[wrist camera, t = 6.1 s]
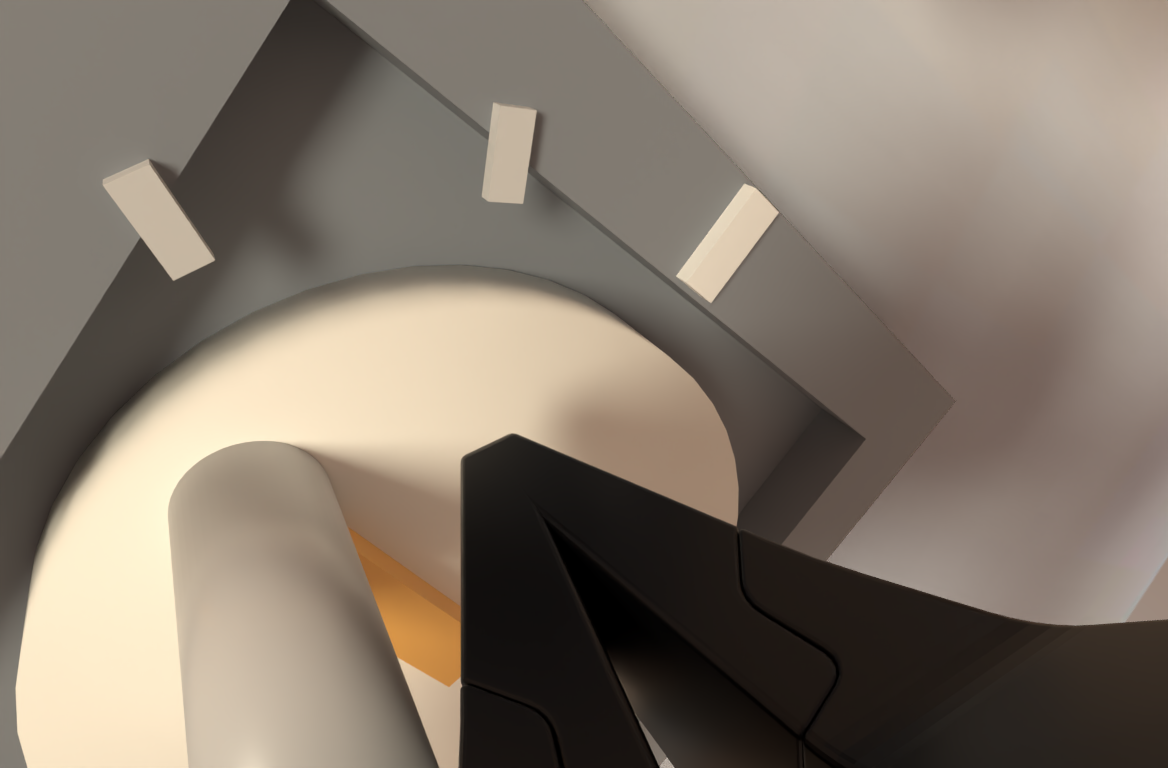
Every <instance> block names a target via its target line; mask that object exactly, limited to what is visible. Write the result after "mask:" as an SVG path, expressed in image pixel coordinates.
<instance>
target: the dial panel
mask: <svg viewBox="0 0 1168 768" xmlns="http://www.w3.org/2000/svg"><path fill="white" fill-rule="evenodd" d="M446 265H466V266H476V267H486V268H495V269H505V270H510V271H514V272H518V273H523V274H527V275H531V276H535V277H539V278H543V279H547V280H550V281H552V282H554V283H557V284H559V285H562V286H564V287H566V288H569V289H571V290H574V291H576V292H578V293H581V294H583V295H585V296H587V297H588V298H590V299H591V300H593V301H595V302H596V303H598V304H599V305H601V306H603V307H604V308H606V309H608V310H609V311H611V312H612V313H614V314H615V315H616V316H618V317H619V318H620V319H622V320H623V321H624V322H625V323H627V324H628V325H629V326H631V327H632V328H633V329H634V330H636V331H637V332H638V333H640V334H641V335H642V336H643V337H645V338H646V339H647V340H649V341H650V342H651V343H652V344H654V345H655V346H656V347H657V348H659V349H660V350H661V351H663V352H664V353H665V354H666V355H668V356H669V357H670V358H671V359H672V360H673V361H675V362H676V363H677V364H678V365H679V366H680V367H681V368H682V369H684V370H685V371H686V372H687V373H688V374H689V375H690V376H691V377H692V378H694V380H695V381H696V382H697V384H698V385H699V386H700V387H701V389H702V390H703V391H704V393H705V394H706V395H707V397H708V398H709V399H710V400H711V402H712V403H713V405H714V407H715V409H716V411H717V413H718V415H719V417H720V419H721V421H722V423H723V425H724V427H725V428H726V430H727V434H728V437H729V440H730V444H731V447H732V451H733V454H734V457H735V463H736V471H737V479H738V487H739V492H738V520H737V526H736V527H737V528H738V532H739V531H740V530H741V529H745V530H747V531H749V532H752V533H754V534H757V535H759V536H761V537H764V538H766V539H768V540H771V541H773V542H776V543H779V544H781V545H784V546H786V547H789V548H791V549H794V550H797V551H799V552H802V553H804V554H807V555H809V556H812V557H815V558H817V559H820V560H823V561H826V560H827V559H828V558H829V557H830V555H831V554H832V553H833V552H834V551H835V549H836V548H837V547H838V546H839V544H840V543H841V542H842V541H843V539H844V538H845V537H846V536H847V535H848V533H849V532H850V531H851V530H852V528H853V527H854V526H855V525H856V523H857V522H858V521H859V520H860V519H861V517H862V516H863V515H864V514H865V512H866V511H867V510H868V509H869V507H870V506H871V505H872V504H873V503H874V501H875V500H876V499H877V498H878V496H879V495H880V494H881V493H882V491H883V490H884V489H885V488H886V487H887V485H888V484H889V483H890V482H891V480H892V479H893V478H894V477H895V475H896V474H897V473H898V472H899V471H900V469H901V468H902V467H903V466H904V464H905V463H906V462H907V461H908V459H909V458H910V457H911V456H912V455H913V453H914V452H915V451H916V450H917V448H918V447H919V446H920V445H921V443H922V442H923V441H924V440H925V439H926V437H927V436H928V435H929V434H930V432H931V431H932V430H933V429H934V427H935V426H936V425H937V424H938V423H939V421H940V420H941V419H942V418H943V416H944V415H945V414H946V413H947V411H948V410H949V409H950V408H951V407H952V405H953V404H954V403H955V402H956V401H955V400H954V399H953V398H952V397H951V396H950V395H949V394H948V393H947V391H946V390H945V389H944V388H943V387H942V386H941V385H940V384H939V383H938V382H937V381H936V380H935V379H934V377H933V376H932V375H931V374H930V373H929V372H928V371H927V370H926V369H925V368H924V367H923V366H922V365H921V363H920V362H919V361H918V360H917V359H916V358H915V357H914V356H913V355H912V354H911V353H910V352H909V351H908V350H907V348H906V347H905V346H904V345H903V344H902V343H901V342H900V341H899V340H898V339H897V338H896V337H895V336H894V334H893V333H892V332H891V331H890V330H889V329H888V328H887V327H886V326H885V325H884V324H883V323H882V322H881V320H880V319H879V318H878V317H877V316H876V315H875V314H874V313H873V312H872V311H871V310H870V309H869V308H868V306H867V305H866V304H865V303H864V302H863V301H862V300H861V299H860V298H859V297H858V296H857V295H856V294H855V293H854V291H853V290H852V289H851V288H850V287H849V286H848V285H847V284H846V283H845V282H844V281H843V280H842V279H841V277H840V276H839V275H838V274H837V273H836V272H835V271H834V270H833V269H832V268H831V267H830V266H829V265H828V263H827V262H826V261H825V260H824V259H823V258H822V257H821V256H820V255H819V254H818V253H817V252H816V251H815V249H814V248H813V247H812V246H811V245H810V244H809V243H808V242H807V241H806V240H805V239H804V238H803V237H802V235H801V234H800V233H799V232H798V231H797V230H796V229H795V228H794V227H793V226H792V225H791V224H790V223H789V222H788V220H787V219H786V218H785V217H784V216H783V215H782V214H781V213H780V212H779V211H778V210H777V209H776V208H775V206H774V205H773V204H772V203H771V202H770V201H769V200H768V199H767V198H766V197H765V196H764V195H763V194H762V192H761V191H760V190H759V189H758V188H757V187H756V186H755V185H754V184H753V183H752V182H751V181H750V180H749V178H748V177H747V176H746V175H745V174H744V173H743V172H742V171H741V170H740V169H739V168H738V167H737V166H736V164H735V163H734V162H733V161H732V160H731V159H730V158H729V157H728V156H727V155H726V154H725V153H724V152H723V151H722V149H721V148H720V147H719V146H718V145H717V144H716V143H715V142H714V141H713V140H712V139H711V138H710V137H709V135H708V134H707V133H706V132H705V131H704V130H703V129H702V128H701V127H700V126H699V125H698V124H697V123H696V121H695V120H694V119H693V118H692V117H691V116H690V115H689V114H688V113H687V112H686V111H685V110H684V109H683V107H682V106H681V105H680V104H679V103H678V102H677V101H676V100H675V99H674V98H673V97H672V96H671V95H670V94H669V92H668V91H667V90H666V89H665V88H664V87H663V86H662V85H661V84H660V83H659V82H658V81H657V80H656V78H655V77H654V76H653V75H652V74H651V73H650V72H649V71H648V70H647V69H646V68H645V67H644V66H643V64H642V63H641V62H640V61H639V60H638V59H637V58H636V57H635V56H634V55H633V54H632V53H631V52H630V50H629V49H628V48H627V47H626V46H625V45H624V44H623V43H622V42H621V41H620V40H619V39H618V38H617V36H616V35H615V34H614V33H613V32H612V31H611V30H610V29H609V28H608V27H607V26H606V25H605V24H604V23H603V21H602V20H601V19H600V18H599V17H598V16H597V15H596V14H595V13H594V12H593V11H592V10H591V9H590V7H589V6H588V5H587V4H586V3H585V2H584V1H583V0H0V768H27V764H26V761H25V757H24V754H23V750H22V747H21V743H20V740H19V736H18V733H17V712H16V689H15V688H16V681H17V673H18V666H19V659H20V651H21V644H22V637H23V629H24V622H25V614H26V607H27V600H28V593H29V587H30V581H31V575H32V569H33V563H34V557H35V551H36V548H37V545H38V543H39V540H40V537H41V534H42V532H43V529H44V526H45V524H46V521H47V518H48V515H49V513H50V510H51V507H52V505H53V503H54V501H55V499H56V498H57V496H58V494H59V492H60V491H61V489H62V487H63V485H64V484H65V482H66V480H67V478H68V477H69V475H70V473H71V471H72V469H73V468H74V466H75V464H76V462H77V461H78V459H79V458H80V457H81V455H82V454H83V453H84V452H85V450H86V449H87V448H88V446H89V445H90V444H91V443H92V441H93V440H94V439H95V438H96V436H97V435H98V434H99V433H100V431H101V430H102V429H103V428H104V426H105V425H106V424H107V422H108V421H109V420H110V419H111V417H112V416H113V415H114V414H115V413H116V412H117V411H118V410H119V409H120V408H122V407H123V406H124V405H125V404H126V403H127V402H128V401H129V400H130V399H131V398H132V397H133V396H134V395H135V394H136V393H137V392H138V391H139V390H140V389H141V388H142V387H143V386H144V385H146V384H147V383H148V382H149V381H150V380H151V379H152V378H153V377H154V376H155V375H157V374H158V373H159V372H161V371H162V370H163V369H165V368H166V367H167V366H169V365H170V364H171V363H173V362H174V361H175V360H177V359H178V358H180V357H181V356H182V355H184V354H185V353H186V352H188V351H189V350H190V349H192V348H193V347H194V346H196V345H197V344H198V343H200V342H201V341H203V340H205V339H206V338H208V337H210V336H212V335H214V334H215V333H217V332H219V331H221V330H222V329H224V328H226V327H228V326H229V325H231V324H233V323H235V322H237V321H238V320H240V319H242V318H244V317H245V316H247V315H249V314H251V313H252V312H255V311H257V310H260V309H262V308H264V307H267V306H269V305H272V304H274V303H276V302H279V301H281V300H284V299H286V298H288V297H291V296H293V295H295V294H298V293H300V292H303V291H305V290H308V289H312V288H315V287H319V286H322V285H326V284H329V283H333V282H336V281H340V280H343V279H347V278H350V277H354V276H357V275H361V274H368V273H374V272H381V271H387V270H393V269H400V268H406V267H413V266H446ZM636 717H637V716H636ZM637 719H638V721H639V723H640V726H641V728H642V730H643V732H644V734H645V736H646V739H647V741H648V743H649V745H650V747H651V750H652V752H653V754H654V756H655V758H656V760H657V763H658V765H659V766H660V765H661V763H662V762H663V761H664V760H665V759H666V757H667V756H666V755H665V754H664V752H663V751H662V749H661V748H660V747H659V745H658V744H657V743H656V741H655V740H654V738H653V737H652V736H651V734H650V733H649V732H648V730H647V729H646V728H645V726H644V725H643V723H642V722H641V721H640V719H639V718H638V717H637Z"/></svg>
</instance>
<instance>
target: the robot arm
mask: <svg viewBox="0 0 1168 768" xmlns="http://www.w3.org/2000/svg"><path fill="white" fill-rule="evenodd" d="M460 557H461V684H462V687H461V689H460V740H459V767H458V768H660V767H659V765H658V763H657V760H656V758H655V756H654V754H653V752H652V750H651V747H650V745H649V743H648V741H647V739H646V736H645V734H644V732H643V730H642V728H641V726H640V723H639V721H638V719H637V717H638V718H639V719H640V721H641V722H642V723H643V725H644V726H645V728H646V729H647V730H648V732H649V733H650V734H651V736H652V737H653V738H654V740H655V741H656V743H657V744H658V745H659V747H660V748H661V749H662V751H663V752H664V754H665V755H666V756H667V758H668V759H669V760H670V762H671V763H672V764H673V766H674V767H675V768H1168V619H1167V620H1154V621H1140V622H1126V623H1112V624H1098V625H1080V626H1072V625H1053V624H1045V623H1036V622H1030V621H1025V620H1020V619H1015V618H1010V617H1006V616H1002V615H998V614H995V613H991V612H987V611H984V610H981V609H977V608H974V607H971V606H968V605H964V604H961V603H958V602H954V601H951V600H948V599H945V598H941V597H938V596H935V595H931V594H928V593H925V592H922V591H918V590H915V589H912V588H908V587H905V586H902V585H899V584H895V583H892V582H889V581H885V580H882V579H879V578H876V577H872V576H869V575H866V574H863V573H860V572H857V571H854V570H851V569H848V568H845V567H842V566H839V565H836V564H833V563H830V562H826V561H823V560H820V559H817V558H815V557H812V556H809V555H807V554H804V553H802V552H799V551H797V550H794V549H791V548H789V547H786V546H784V545H781V544H779V543H776V542H773V541H771V540H768V539H766V538H764V537H761V536H759V535H757V534H754V533H752V532H749V531H747V530H745V529H741V530H740V531H739V532H738V528H737V527H736V526H735V525H732V524H730V523H727V522H725V521H723V520H720V519H718V518H716V517H713V516H711V515H708V514H706V513H704V512H701V511H699V510H697V509H694V508H692V507H689V506H687V505H685V504H682V503H680V502H678V501H675V500H673V499H670V498H668V497H666V496H663V495H661V494H659V493H656V492H654V491H651V490H649V489H647V488H644V487H642V486H640V485H637V484H635V483H632V482H630V481H628V480H625V479H623V478H621V477H618V476H616V475H613V474H611V473H609V472H606V471H604V470H602V469H599V468H597V467H594V466H592V465H590V464H587V463H585V462H583V461H580V460H578V459H575V458H573V457H571V456H568V455H566V454H564V453H561V452H559V451H556V450H554V449H552V448H549V447H547V446H545V445H542V444H540V443H537V442H535V441H533V440H530V439H528V438H526V437H523V436H521V435H518V434H515V433H511V434H508V435H505V436H503V437H501V438H499V439H497V440H495V441H493V442H491V443H489V444H487V445H484V446H482V447H480V448H478V449H476V450H474V451H472V452H470V453H468V454H466V455H464V456H463V457H462V458H461V462H460ZM635 714H636V715H637V717H636V715H635Z"/></svg>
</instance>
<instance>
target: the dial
mask: <svg viewBox="0 0 1168 768" xmlns="http://www.w3.org/2000/svg"><path fill="white" fill-rule="evenodd" d="M511 433H515V434H518V435H521V436H523V437H526V438H528V439H530V440H533V441H535V442H537V443H540V444H542V445H545V446H547V447H549V448H552V449H554V450H556V451H559V452H561V453H564V454H566V455H568V456H571V457H573V458H575V459H578V460H580V461H583V462H585V463H587V464H590V465H592V466H594V467H597V468H599V469H602V470H604V471H606V472H609V473H611V474H613V475H616V476H618V477H621V478H623V479H625V480H628V481H630V482H632V483H635V484H637V485H640V486H642V487H644V488H647V489H649V490H651V491H654V492H656V493H659V494H661V495H663V496H666V497H668V498H670V499H673V500H675V501H678V502H680V503H682V504H685V505H687V506H689V507H692V508H694V509H697V510H699V511H701V512H704V513H706V514H708V515H711V516H713V517H716V518H718V519H720V520H723V521H725V522H727V523H730V524H732V525H735V526H737V520H738V492H739V487H738V479H737V471H736V463H735V457H734V454H733V451H732V447H731V444H730V440H729V437H728V434H727V430H726V428H725V427H724V425H723V423H722V421H721V419H720V417H719V415H718V413H717V411H716V409H715V407H714V405H713V403H712V402H711V400H710V399H709V398H708V397H707V395H706V394H705V393H704V391H703V390H702V389H701V387H700V386H699V385H698V384H697V382H696V381H695V380H694V378H692V377H691V376H690V375H689V374H688V373H687V372H686V371H685V370H684V369H682V368H681V367H680V366H679V365H678V364H677V363H676V362H675V361H673V360H672V359H671V358H670V357H669V356H668V355H666V354H665V353H664V352H663V351H661V350H660V349H659V348H657V347H656V346H655V345H654V344H652V343H651V342H650V341H649V340H647V339H646V338H645V337H643V336H642V335H641V334H640V333H638V332H637V331H636V330H634V329H633V328H632V327H631V326H629V325H628V324H627V323H625V322H624V321H623V320H622V319H620V318H619V317H618V316H616V315H615V314H614V313H612V312H611V311H609V310H608V309H606V308H604V307H603V306H601V305H599V304H598V303H596V302H595V301H593V300H591V299H590V298H588V297H587V296H585V295H583V294H581V293H578V292H576V291H574V290H571V289H569V288H566V287H564V286H562V285H559V284H557V283H554V282H552V281H550V280H547V279H543V278H539V277H535V276H531V275H527V274H523V273H518V272H514V271H510V270H505V269H495V268H486V267H476V266H466V265H446V266H413V267H406V268H400V269H393V270H387V271H381V272H374V273H368V274H361V275H357V276H354V277H350V278H347V279H343V280H340V281H336V282H333V283H329V284H326V285H322V286H319V287H315V288H312V289H308V290H305V291H303V292H300V293H298V294H295V295H293V296H291V297H288V298H286V299H284V300H281V301H279V302H276V303H274V304H272V305H269V306H267V307H264V308H262V309H260V310H257V311H255V312H252V313H251V314H249V315H247V316H245V317H244V318H242V319H240V320H238V321H237V322H235V323H233V324H231V325H229V326H228V327H226V328H224V329H222V330H221V331H219V332H217V333H215V334H214V335H212V336H210V337H208V338H206V339H205V340H203V341H201V342H200V343H198V344H197V345H196V346H194V347H193V348H192V349H190V350H189V351H188V352H186V353H185V354H184V355H182V356H181V357H180V358H178V359H177V360H175V361H174V362H173V363H171V364H170V365H169V366H167V367H166V368H165V369H163V370H162V371H161V372H159V373H158V374H157V375H155V376H154V377H153V378H152V379H151V380H150V381H149V382H148V383H147V384H146V385H144V386H143V387H142V388H141V389H140V390H139V391H138V392H137V393H136V394H135V395H134V396H133V397H132V398H131V399H130V400H129V401H128V402H127V403H126V404H125V405H124V406H123V407H122V408H120V409H119V410H118V411H117V412H116V413H115V414H114V415H113V416H112V417H111V419H110V420H109V421H108V422H107V424H106V425H105V426H104V428H103V429H102V430H101V431H100V433H99V434H98V435H97V436H96V438H95V439H94V440H93V441H92V443H91V444H90V445H89V446H88V448H87V449H86V450H85V452H84V453H83V454H82V455H81V457H80V458H79V459H78V461H77V462H76V464H75V466H74V468H73V469H72V471H71V473H70V475H69V477H68V478H67V480H66V482H65V484H64V485H63V487H62V489H61V491H60V492H59V494H58V496H57V498H56V499H55V501H54V503H53V505H52V507H51V510H50V513H49V515H48V518H47V521H46V524H45V526H44V529H43V532H42V534H41V537H40V540H39V543H38V545H37V548H36V551H35V557H34V563H33V569H32V575H31V581H30V587H29V593H28V600H27V607H26V614H25V622H24V629H23V637H22V644H21V651H20V659H19V666H18V673H17V681H16V688H15V689H16V712H17V733H18V736H19V740H20V743H21V747H22V750H23V754H24V757H25V761H26V764H27V768H458V767H459V740H460V689H461V687H462V684H461V557H460V462H461V458H462V457H463V456H464V455H466V454H468V453H470V452H472V451H474V450H476V449H478V448H480V447H482V446H484V445H487V444H489V443H491V442H493V441H495V440H497V439H499V438H501V437H503V436H505V435H508V434H511ZM635 715H636V714H635ZM636 716H637V715H636Z"/></svg>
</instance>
